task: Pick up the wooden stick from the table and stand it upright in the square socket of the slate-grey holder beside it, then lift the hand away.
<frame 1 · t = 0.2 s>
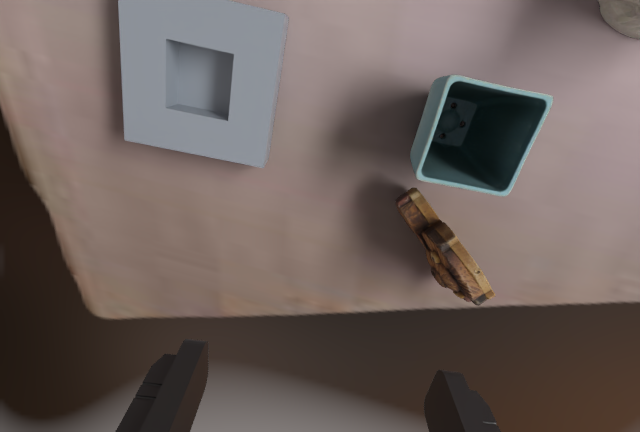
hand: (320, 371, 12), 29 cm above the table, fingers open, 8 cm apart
holder: (210, 79, 34), on the table
flower pot: (445, 120, 36), on the table
wooden carving: (430, 230, 42), on the table
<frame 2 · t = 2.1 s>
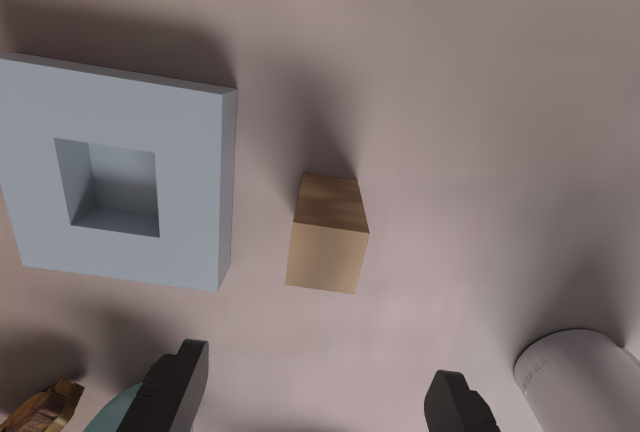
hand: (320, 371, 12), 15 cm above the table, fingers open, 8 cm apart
holder: (138, 173, 25), on the table
flower pot: (168, 395, 36), on the table
wooden stick: (326, 201, 25), on the table
wooden carving: (48, 399, 37), on the table
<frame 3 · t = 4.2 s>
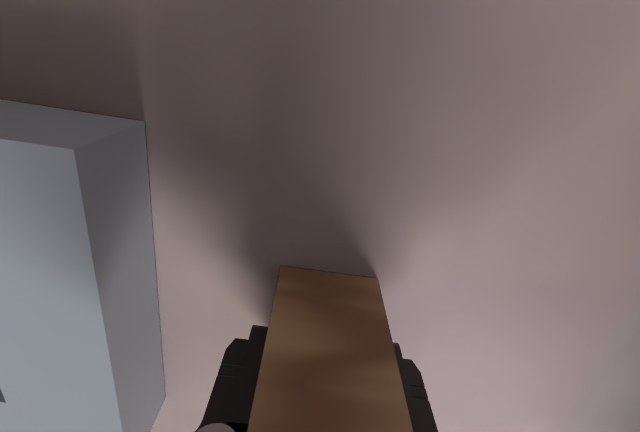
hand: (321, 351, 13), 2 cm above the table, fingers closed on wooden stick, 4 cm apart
wooden stick: (322, 309, 15), on the table, touching gripper
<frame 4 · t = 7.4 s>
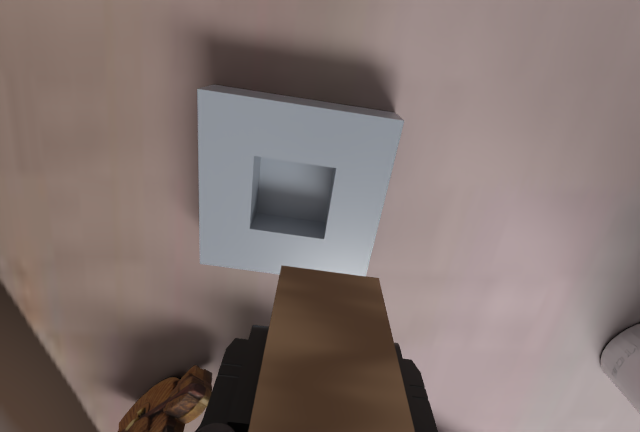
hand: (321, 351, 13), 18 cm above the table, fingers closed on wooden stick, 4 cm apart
holder: (295, 183, 29), on the table
wooden stick: (322, 309, 15), point 16 cm above the table, touching gripper
wooden carving: (171, 384, 41), on the table
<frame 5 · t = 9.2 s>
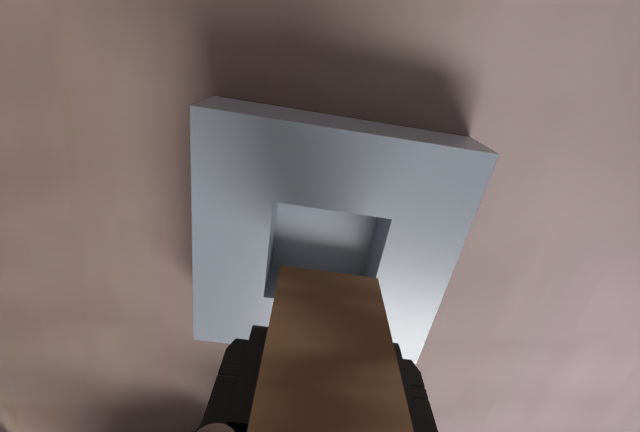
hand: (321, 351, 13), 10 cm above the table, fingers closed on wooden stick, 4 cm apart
holder: (324, 229, 21), on the table
wooden stick: (322, 309, 15), point 7 cm above the table, touching gripper
when the fingers open (5 cm above the table, at t = 10.9 s): wooden stick drops 2 cm, resting on holder.
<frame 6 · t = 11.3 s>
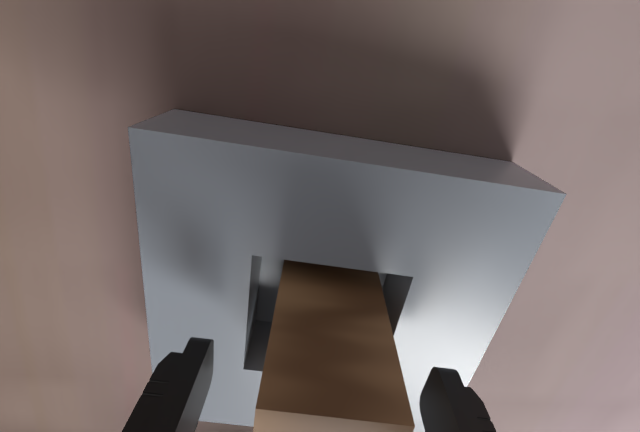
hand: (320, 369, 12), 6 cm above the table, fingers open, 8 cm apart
holder: (321, 275, 17), on the table
wooden stick: (323, 282, 16), resting on holder
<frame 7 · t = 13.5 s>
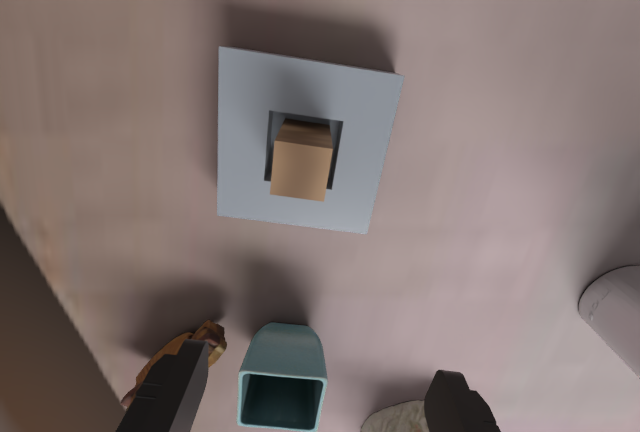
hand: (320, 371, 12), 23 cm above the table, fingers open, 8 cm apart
holder: (303, 141, 31), on the table
flower pot: (287, 335, 43), on the table
wooden stick: (304, 143, 31), resting on holder
wooden carving: (184, 342, 43), on the table
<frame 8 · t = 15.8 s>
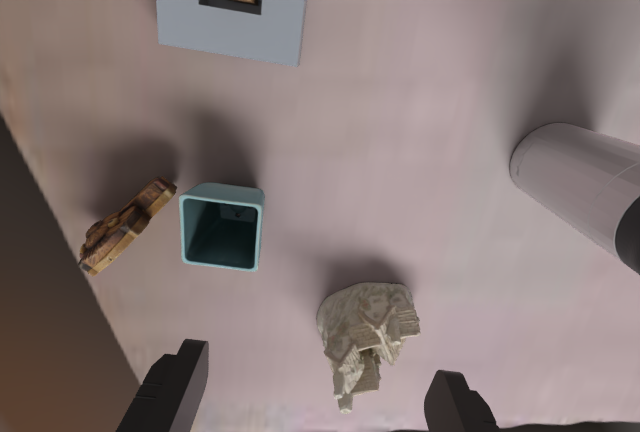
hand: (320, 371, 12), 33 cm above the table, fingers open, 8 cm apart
flower pot: (238, 202, 46), on the table
wooden carving: (142, 208, 46), on the table
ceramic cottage: (365, 321, 55), on the table
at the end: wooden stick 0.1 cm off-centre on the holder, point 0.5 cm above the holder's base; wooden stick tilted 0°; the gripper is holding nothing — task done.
